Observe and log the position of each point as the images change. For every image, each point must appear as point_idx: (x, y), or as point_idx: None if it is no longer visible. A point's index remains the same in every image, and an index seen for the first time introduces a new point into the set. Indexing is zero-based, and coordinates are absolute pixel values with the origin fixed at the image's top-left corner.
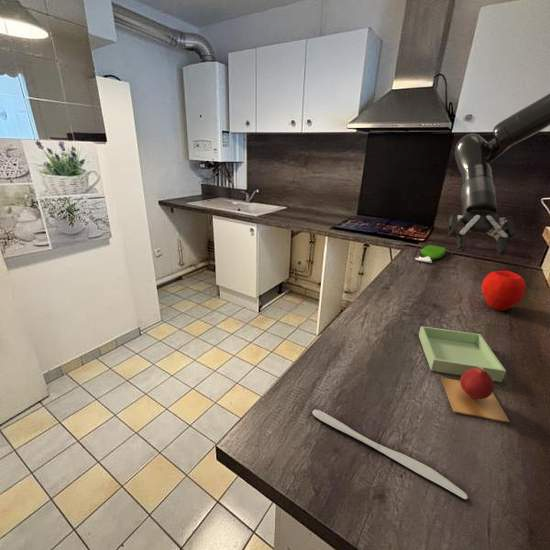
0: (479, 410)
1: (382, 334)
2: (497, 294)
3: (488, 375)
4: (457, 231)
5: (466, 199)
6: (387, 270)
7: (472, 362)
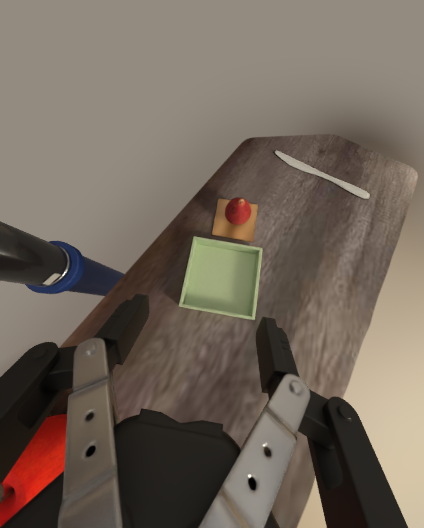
0: None
1: (298, 317)
2: None
3: (234, 201)
4: (316, 411)
5: None
6: None
7: (208, 267)
